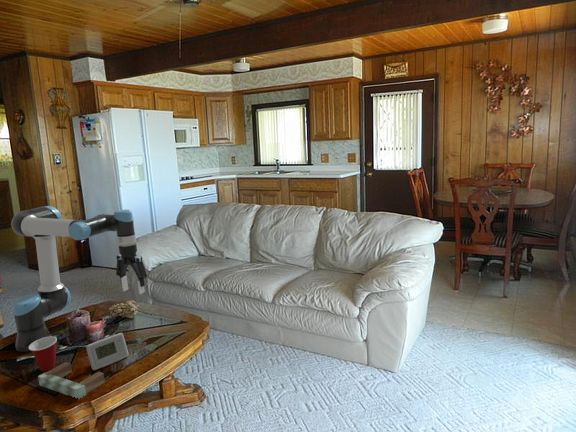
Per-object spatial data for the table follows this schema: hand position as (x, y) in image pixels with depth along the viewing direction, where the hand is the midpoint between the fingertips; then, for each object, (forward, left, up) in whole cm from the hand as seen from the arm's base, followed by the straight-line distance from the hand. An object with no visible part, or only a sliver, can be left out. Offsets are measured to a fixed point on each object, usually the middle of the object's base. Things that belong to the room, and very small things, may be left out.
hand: (133, 291), depth 202 cm
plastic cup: (-22, -32, -26) cm, 47 cm away
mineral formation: (-34, +21, -26) cm, 48 cm away
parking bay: (0, -35, -26) cm, 43 cm away
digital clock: (0, -18, -26) cm, 32 cm away
